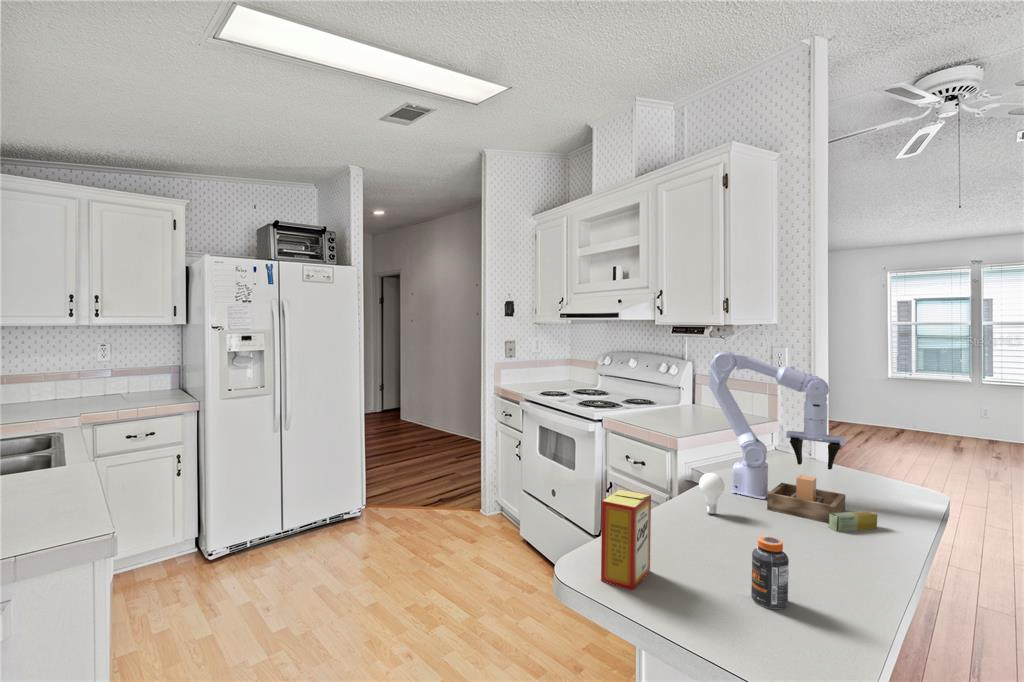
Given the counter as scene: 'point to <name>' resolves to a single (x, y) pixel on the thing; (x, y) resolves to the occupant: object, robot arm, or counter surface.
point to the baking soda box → (625, 538)
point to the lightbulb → (711, 490)
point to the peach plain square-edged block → (806, 488)
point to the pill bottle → (770, 573)
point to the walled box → (805, 503)
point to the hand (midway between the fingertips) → (814, 466)
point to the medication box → (852, 521)
